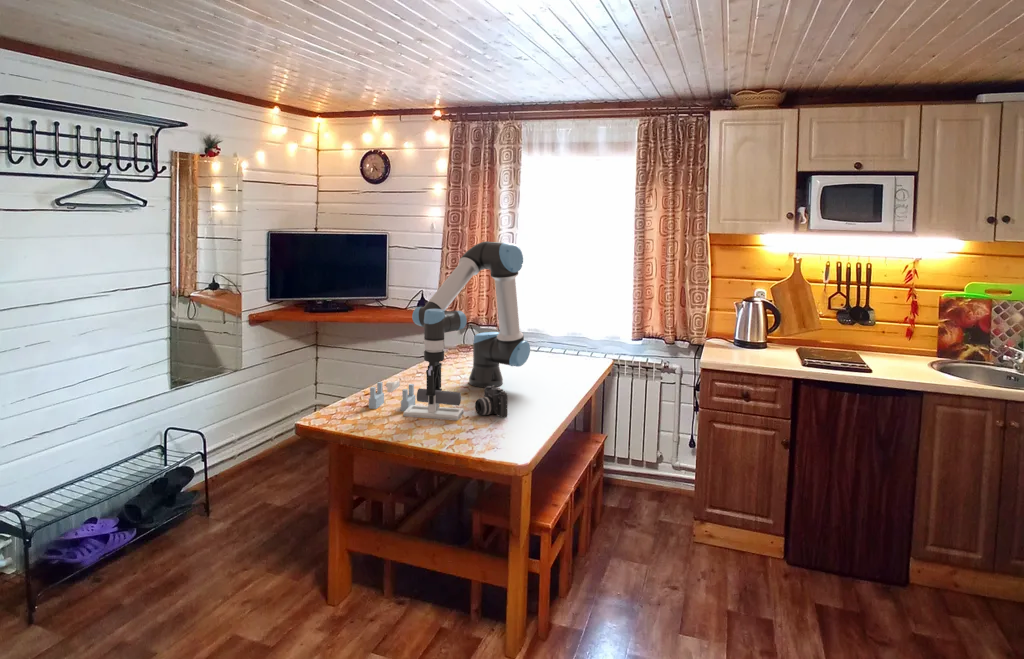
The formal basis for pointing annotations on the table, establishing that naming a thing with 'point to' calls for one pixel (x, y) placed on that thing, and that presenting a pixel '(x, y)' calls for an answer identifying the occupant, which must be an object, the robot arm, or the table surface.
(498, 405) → the camera
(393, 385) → the white l-shaped hook
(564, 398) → the table surface
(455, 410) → the tray
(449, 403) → the gray cylinder
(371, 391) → the cradle
